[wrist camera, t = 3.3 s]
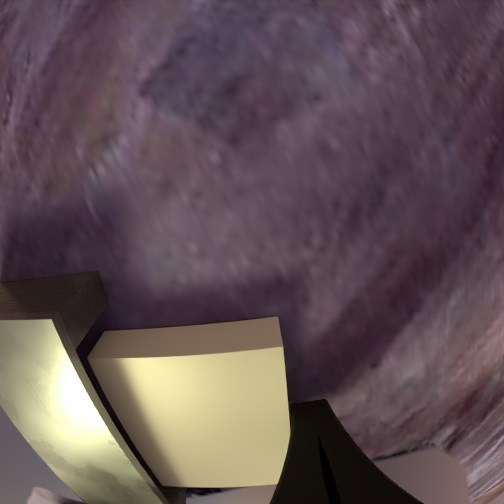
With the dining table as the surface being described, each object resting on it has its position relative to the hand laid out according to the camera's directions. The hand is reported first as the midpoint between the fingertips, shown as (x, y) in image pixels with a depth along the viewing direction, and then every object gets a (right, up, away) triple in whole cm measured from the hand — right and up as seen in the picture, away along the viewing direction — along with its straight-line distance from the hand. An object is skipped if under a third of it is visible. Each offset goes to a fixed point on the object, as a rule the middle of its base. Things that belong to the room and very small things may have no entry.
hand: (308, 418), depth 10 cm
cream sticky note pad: (-4, 0, +1) cm, 4 cm away
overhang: (-9, -1, +1) cm, 9 cm away
